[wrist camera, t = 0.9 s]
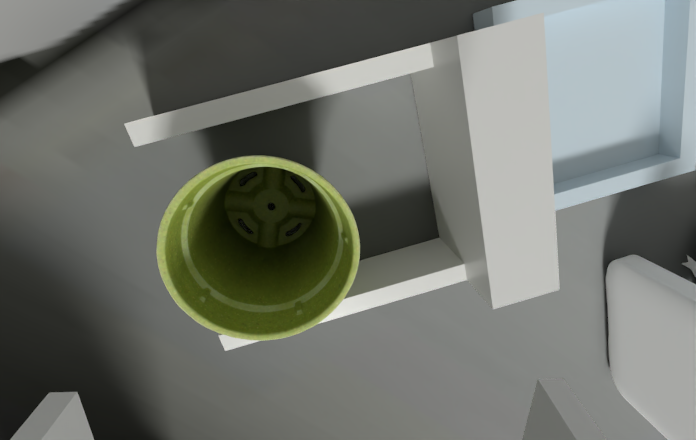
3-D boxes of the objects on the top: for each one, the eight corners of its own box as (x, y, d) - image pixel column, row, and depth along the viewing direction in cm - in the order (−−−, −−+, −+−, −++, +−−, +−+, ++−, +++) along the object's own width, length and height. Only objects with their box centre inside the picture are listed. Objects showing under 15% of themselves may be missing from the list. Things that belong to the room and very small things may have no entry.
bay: (234, 311, 29) (215, 392, 21) (153, 116, 24) (90, 132, 16) (492, 237, 30) (559, 289, 22) (467, 33, 25) (543, 12, 17)
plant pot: (166, 197, 26) (108, 252, 17) (274, 101, 24) (267, 111, 16) (267, 290, 29) (257, 372, 21) (366, 208, 28) (398, 260, 20)
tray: (495, 211, 29) (513, 222, 27) (472, 13, 24) (491, 6, 22) (663, 163, 30) (695, 170, 27) (672, -39, 25) (712, -52, 23)
